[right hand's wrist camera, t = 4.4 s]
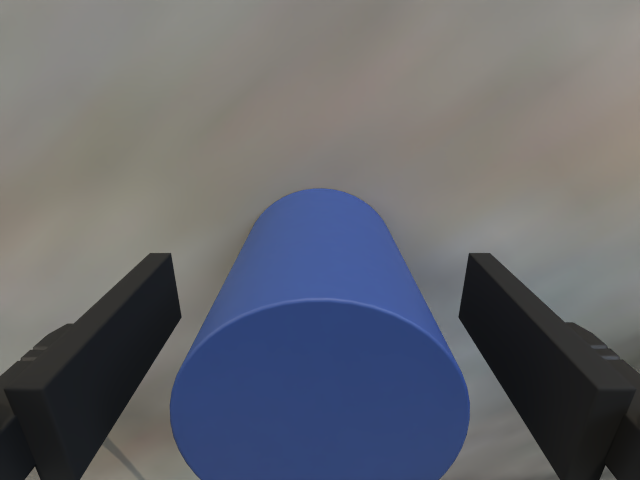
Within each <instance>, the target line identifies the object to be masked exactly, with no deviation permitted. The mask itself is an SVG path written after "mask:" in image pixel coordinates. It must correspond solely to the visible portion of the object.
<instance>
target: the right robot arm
mask: <svg viewBox="0 0 640 480" xmlns="http://www.w3.org/2000/svg"><path fill="white" fill-rule="evenodd" d="M180 319H181V311H180V305H179V299H178V293H177V287H176V281H175V275H174V269H173V263H172V257H171V253H150V254H149V255H148V256H146V257H145V258H144V259H143V260H142V261H141V262H140V263H139V264H138V265H137V266H136V267H135V268H133V269H132V270H131V271H130V272H129V273H128V274H127V275H126V276H125V277H124V278H123V279H122V280H121V281H119V282H118V283H117V284H116V285H115V286H114V287H113V288H112V289H111V290H110V291H109V292H108V293H106V294H105V295H104V296H103V297H102V298H101V299H100V300H99V301H98V302H97V303H96V304H95V305H93V306H92V307H91V308H90V309H89V310H88V311H87V312H86V313H85V314H84V315H83V316H82V317H80V318H79V319H78V320H77V321H76V322H75V323H74V324H66V325H64V326H62V327H61V328H59V329H57V330H55V331H53V332H52V333H50V334H48V335H47V336H46V337H44V338H43V339H42V340H41V341H40V342H39V343H38V344H37V345H35V346H34V347H33V350H30V351H29V352H27V353H26V354H25V355H24V356H23V357H22V358H21V360H20V361H17V362H16V363H15V364H14V365H13V366H11V367H10V368H9V369H8V370H7V371H6V372H5V373H3V374H2V375H1V376H0V480H25V478H26V477H27V476H28V475H29V473H30V472H31V471H32V469H33V468H34V467H36V470H37V472H38V474H39V477H40V479H41V480H80V478H81V477H82V475H83V474H84V472H85V471H86V469H87V467H88V466H89V464H90V463H91V461H92V459H93V458H94V456H95V455H96V453H97V451H98V450H99V448H100V447H101V445H102V443H103V442H104V440H105V439H106V437H107V435H108V434H109V432H110V431H111V429H112V427H113V426H114V424H115V423H116V421H117V419H118V418H119V416H120V415H121V413H122V411H123V410H124V408H125V407H126V405H127V403H128V402H129V400H130V399H131V397H132V395H133V394H134V392H135V391H136V389H137V387H138V386H139V384H140V383H141V381H142V380H143V378H144V376H145V375H146V373H147V372H148V370H149V368H150V367H151V365H152V364H153V362H154V360H155V359H156V357H157V356H158V354H159V352H160V351H161V349H162V348H163V346H164V344H165V343H166V341H167V340H168V338H169V336H170V335H171V333H172V332H173V330H174V328H175V327H176V325H177V324H178V322H179V320H180ZM459 319H460V320H461V322H462V324H463V325H464V327H465V328H466V330H467V332H468V333H469V335H470V336H471V338H472V340H473V341H474V343H475V344H476V346H477V348H478V349H479V351H480V352H481V354H482V356H483V357H484V359H485V360H486V362H487V364H488V365H489V367H490V368H491V370H492V372H493V373H494V375H495V376H496V378H497V380H498V381H499V383H500V384H501V386H502V388H503V389H504V391H505V392H506V394H507V395H508V397H509V399H510V400H511V402H512V403H513V405H514V407H515V408H516V410H517V411H518V413H519V415H520V416H521V418H522V419H523V421H524V423H525V424H526V426H527V427H528V429H529V431H530V432H531V434H532V435H533V437H534V439H535V440H536V442H537V443H538V445H539V447H540V448H541V450H542V451H543V453H544V455H545V456H546V458H547V459H548V461H549V463H550V464H551V466H552V467H553V469H554V471H555V472H556V474H557V475H558V477H559V478H560V480H599V479H600V477H601V474H602V472H603V470H604V467H605V465H606V466H607V467H608V469H609V470H610V471H611V473H612V474H613V475H614V476H615V478H616V479H617V480H640V374H639V373H638V372H636V371H635V370H634V369H633V368H632V367H631V366H630V365H628V364H627V363H626V362H625V361H624V360H620V357H619V356H618V355H617V354H616V353H615V352H613V351H612V350H611V349H608V348H607V345H605V344H604V343H603V342H602V341H601V340H600V339H599V338H597V337H596V336H595V335H594V334H593V333H591V332H589V331H587V330H586V329H584V328H582V327H580V326H578V325H577V324H575V323H565V322H564V321H563V320H562V319H561V318H560V317H558V316H557V315H556V314H555V313H554V312H553V311H552V310H551V309H550V308H549V307H548V306H547V305H545V304H544V303H543V302H542V301H541V300H540V299H539V298H538V297H537V296H536V295H535V294H534V293H532V292H531V291H530V290H529V289H528V288H527V287H526V286H525V285H524V284H523V283H522V282H521V281H519V280H518V279H517V278H516V277H515V276H514V275H513V274H512V273H511V272H510V271H509V270H508V269H506V268H505V267H504V266H503V265H502V264H501V263H500V262H499V261H498V260H497V259H496V258H495V257H494V256H492V255H491V254H490V253H469V257H468V263H467V269H466V275H465V281H464V287H463V293H462V299H461V305H460V311H459Z"/></svg>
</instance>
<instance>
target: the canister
mask: <svg viewBox="0 0 640 480" xmlns="http://www.w3.org/2000/svg"><path fill="white" fill-rule="evenodd" d="M469 419H470V402H469V396H468V390H467V386H466V383H465V380H464V377H463V375H462V372H461V370H460V368H459V366H458V364H457V362H456V360H455V358H454V357H453V355H452V353H451V351H450V349H449V347H448V345H447V343H446V341H445V339H444V337H443V335H442V333H441V331H440V329H439V327H438V325H437V323H436V322H435V320H434V318H433V316H432V314H431V312H430V310H429V308H428V306H427V304H426V302H425V300H424V298H423V296H422V294H421V292H420V290H419V288H418V286H417V285H416V283H415V281H414V279H413V277H412V275H411V273H410V271H409V269H408V267H407V265H406V263H405V261H404V259H403V257H402V255H401V253H400V251H399V250H398V248H397V246H396V244H395V242H394V240H393V238H392V236H391V234H390V232H389V230H388V228H387V226H386V225H385V223H384V221H383V220H382V219H381V217H380V216H379V215H378V213H377V212H376V211H375V210H374V209H373V208H372V207H370V206H369V205H368V204H366V203H365V202H364V201H362V200H360V199H358V198H357V197H355V196H353V195H350V194H348V193H345V192H341V191H337V190H332V189H308V190H302V191H298V192H295V193H292V194H290V195H287V196H285V197H283V198H281V199H280V200H278V201H276V202H275V203H273V204H272V205H271V206H270V207H268V208H267V209H266V210H265V211H264V212H263V213H262V214H261V215H260V217H259V218H258V220H257V221H256V222H255V224H254V226H253V228H252V230H251V232H250V234H249V236H248V238H247V239H246V241H245V243H244V245H243V247H242V249H241V251H240V253H239V255H238V257H237V259H236V261H235V263H234V265H233V267H232V269H231V271H230V273H229V275H228V276H227V278H226V280H225V282H224V284H223V286H222V288H221V290H220V292H219V294H218V296H217V298H216V300H215V302H214V304H213V306H212V308H211V310H210V312H209V313H208V315H207V317H206V319H205V321H204V323H203V325H202V327H201V329H200V331H199V333H198V335H197V337H196V339H195V341H194V343H193V345H192V347H191V349H190V350H189V352H188V354H187V356H186V358H185V360H184V362H183V364H182V366H181V368H180V370H179V372H178V374H177V376H176V379H175V382H174V385H173V388H172V393H171V400H170V422H171V427H172V432H173V436H174V439H175V441H176V444H177V446H178V449H179V451H180V453H181V455H182V456H183V458H184V460H185V461H186V463H187V464H188V466H189V467H190V468H191V469H192V471H193V472H194V473H195V474H196V475H197V476H198V477H199V478H200V479H201V480H439V479H440V478H441V477H442V476H443V475H444V474H445V473H446V472H447V470H448V469H449V468H450V466H451V465H452V464H453V462H454V461H455V459H456V457H457V456H458V454H459V452H460V450H461V448H462V446H463V443H464V440H465V438H466V435H467V430H468V425H469Z"/></svg>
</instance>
